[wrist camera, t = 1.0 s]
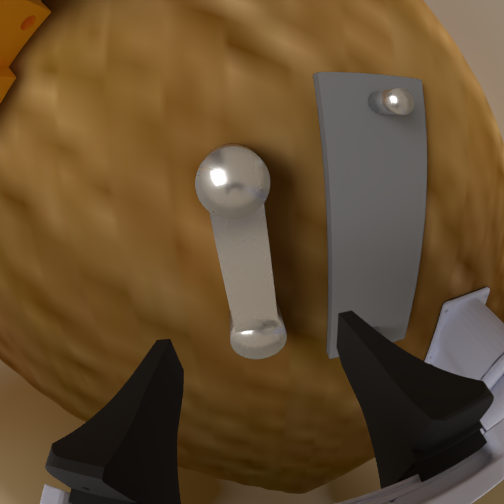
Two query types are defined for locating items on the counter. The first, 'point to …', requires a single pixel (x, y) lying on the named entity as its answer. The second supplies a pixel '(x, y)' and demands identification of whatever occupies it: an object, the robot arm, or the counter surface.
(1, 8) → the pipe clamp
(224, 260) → the ball knob lever
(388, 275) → the grey metal plate
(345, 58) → the counter surface
